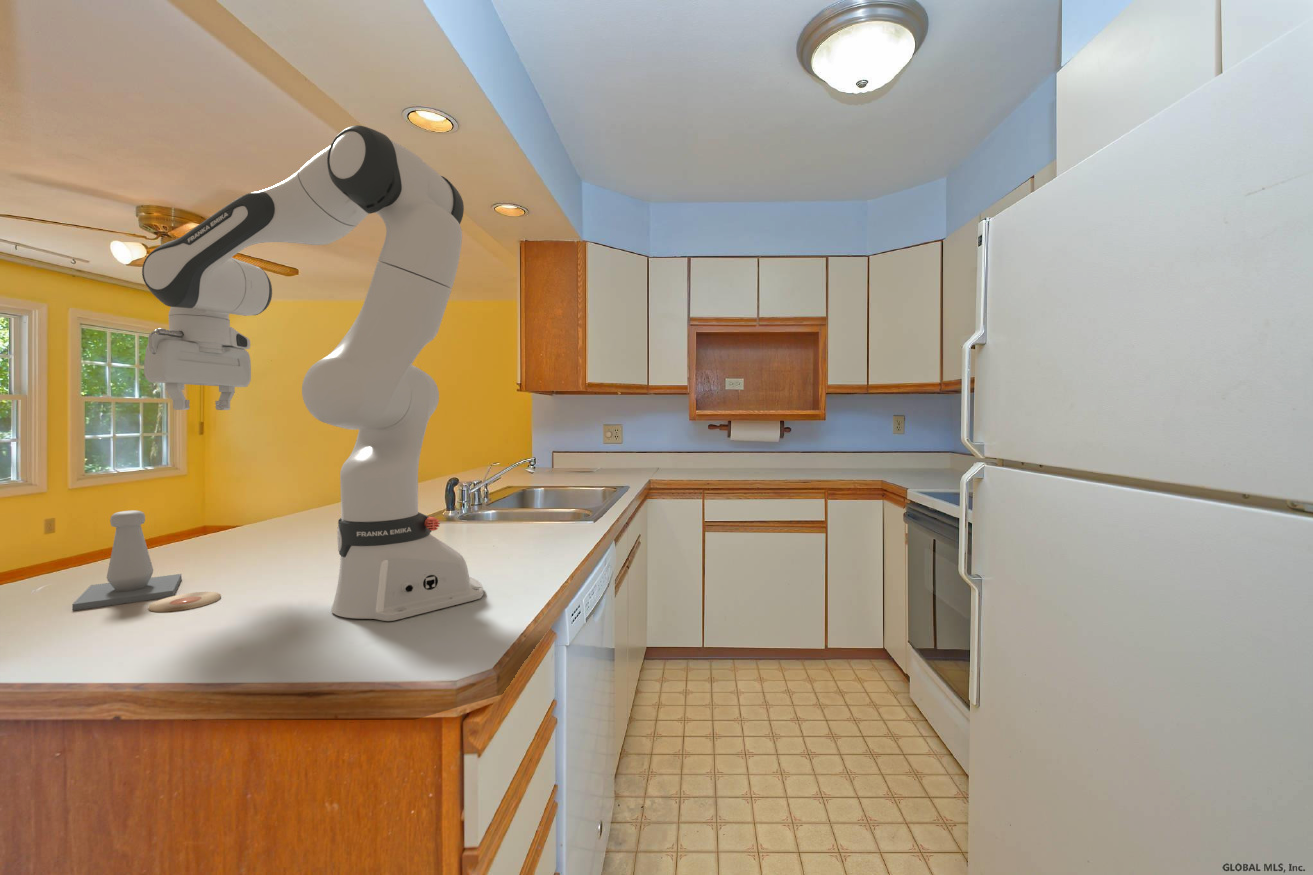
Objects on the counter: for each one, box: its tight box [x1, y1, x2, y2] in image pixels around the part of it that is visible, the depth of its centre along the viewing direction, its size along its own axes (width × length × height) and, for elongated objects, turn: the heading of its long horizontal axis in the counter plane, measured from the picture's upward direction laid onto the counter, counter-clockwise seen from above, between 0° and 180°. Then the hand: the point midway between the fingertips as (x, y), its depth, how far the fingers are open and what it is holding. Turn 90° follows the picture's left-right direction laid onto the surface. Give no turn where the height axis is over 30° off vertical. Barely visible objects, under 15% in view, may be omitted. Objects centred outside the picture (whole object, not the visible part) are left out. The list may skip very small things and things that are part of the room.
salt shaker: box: [106, 509, 154, 592], centre depth 97 cm, size 6×6×13 cm
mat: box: [71, 573, 182, 611], centre depth 97 cm, size 12×12×1 cm
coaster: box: [148, 591, 222, 613], centre depth 93 cm, size 9×9×1 cm
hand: (203, 409), depth 106 cm, fingers open, 8 cm apart
